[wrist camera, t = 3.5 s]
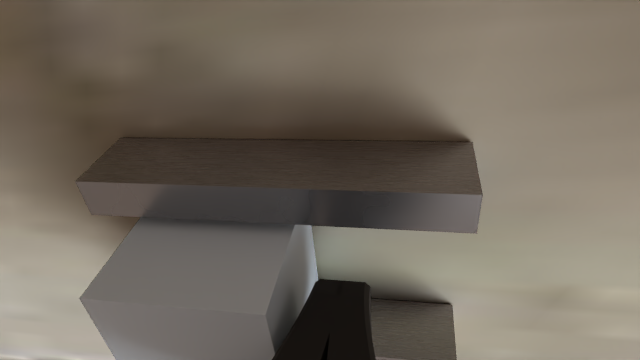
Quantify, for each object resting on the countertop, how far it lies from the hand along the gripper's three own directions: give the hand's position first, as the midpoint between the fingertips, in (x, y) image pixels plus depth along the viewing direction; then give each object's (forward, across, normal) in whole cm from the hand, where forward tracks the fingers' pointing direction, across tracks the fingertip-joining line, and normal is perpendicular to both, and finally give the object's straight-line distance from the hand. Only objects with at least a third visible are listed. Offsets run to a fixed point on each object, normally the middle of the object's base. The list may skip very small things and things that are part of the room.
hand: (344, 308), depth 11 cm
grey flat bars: (+2, +2, 0) cm, 3 cm away
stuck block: (+2, +3, 0) cm, 4 cm away
